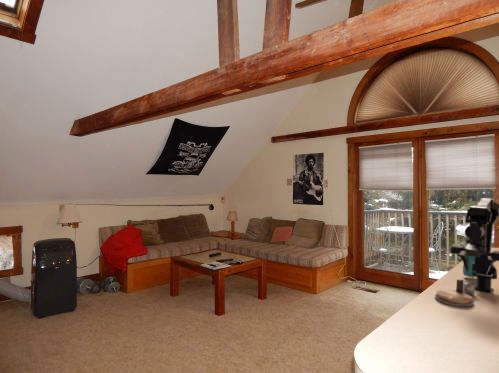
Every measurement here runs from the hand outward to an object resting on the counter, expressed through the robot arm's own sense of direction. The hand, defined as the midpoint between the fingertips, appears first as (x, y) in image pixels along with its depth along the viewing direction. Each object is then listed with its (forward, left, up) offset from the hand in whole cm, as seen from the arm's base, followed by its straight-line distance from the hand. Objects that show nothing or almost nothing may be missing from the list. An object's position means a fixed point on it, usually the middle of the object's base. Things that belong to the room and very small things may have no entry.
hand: (476, 272), depth 143 cm
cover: (-6, -4, -12) cm, 14 cm away
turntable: (+6, -6, -11) cm, 14 cm away
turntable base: (+7, -6, -12) cm, 15 cm away
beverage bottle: (-34, -11, -12) cm, 38 cm away
